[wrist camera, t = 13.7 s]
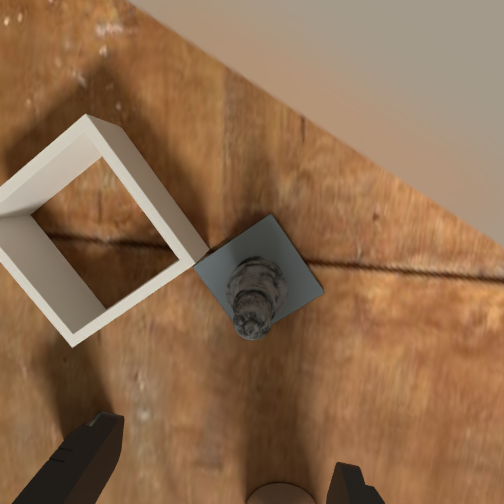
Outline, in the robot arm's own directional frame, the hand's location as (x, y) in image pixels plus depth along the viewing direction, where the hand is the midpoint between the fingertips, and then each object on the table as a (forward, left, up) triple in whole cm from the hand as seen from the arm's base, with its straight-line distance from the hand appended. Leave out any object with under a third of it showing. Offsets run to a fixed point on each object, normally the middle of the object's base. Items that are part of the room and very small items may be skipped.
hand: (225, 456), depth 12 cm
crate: (+13, +10, -23) cm, 28 cm away
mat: (0, 0, -23) cm, 23 cm away
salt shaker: (0, 0, -22) cm, 22 cm away
